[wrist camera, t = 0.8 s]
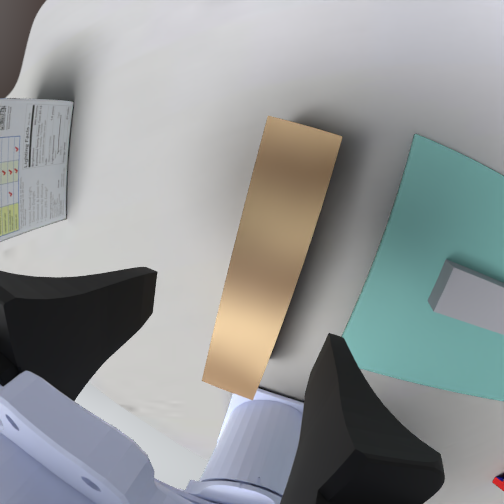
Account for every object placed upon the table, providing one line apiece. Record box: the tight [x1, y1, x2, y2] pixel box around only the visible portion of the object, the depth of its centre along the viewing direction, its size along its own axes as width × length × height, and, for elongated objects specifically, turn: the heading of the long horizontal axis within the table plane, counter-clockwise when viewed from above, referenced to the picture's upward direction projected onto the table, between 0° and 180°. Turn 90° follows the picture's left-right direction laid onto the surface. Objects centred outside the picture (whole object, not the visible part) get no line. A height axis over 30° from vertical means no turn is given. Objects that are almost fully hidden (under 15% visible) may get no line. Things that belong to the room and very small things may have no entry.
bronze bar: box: [202, 116, 342, 400], centre depth 18 cm, size 16×4×5 cm, turn 166°
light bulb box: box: [0, 98, 73, 242], centre depth 18 cm, size 11×7×11 cm, turn 172°
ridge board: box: [341, 134, 504, 401], centre depth 16 cm, size 16×20×2 cm
